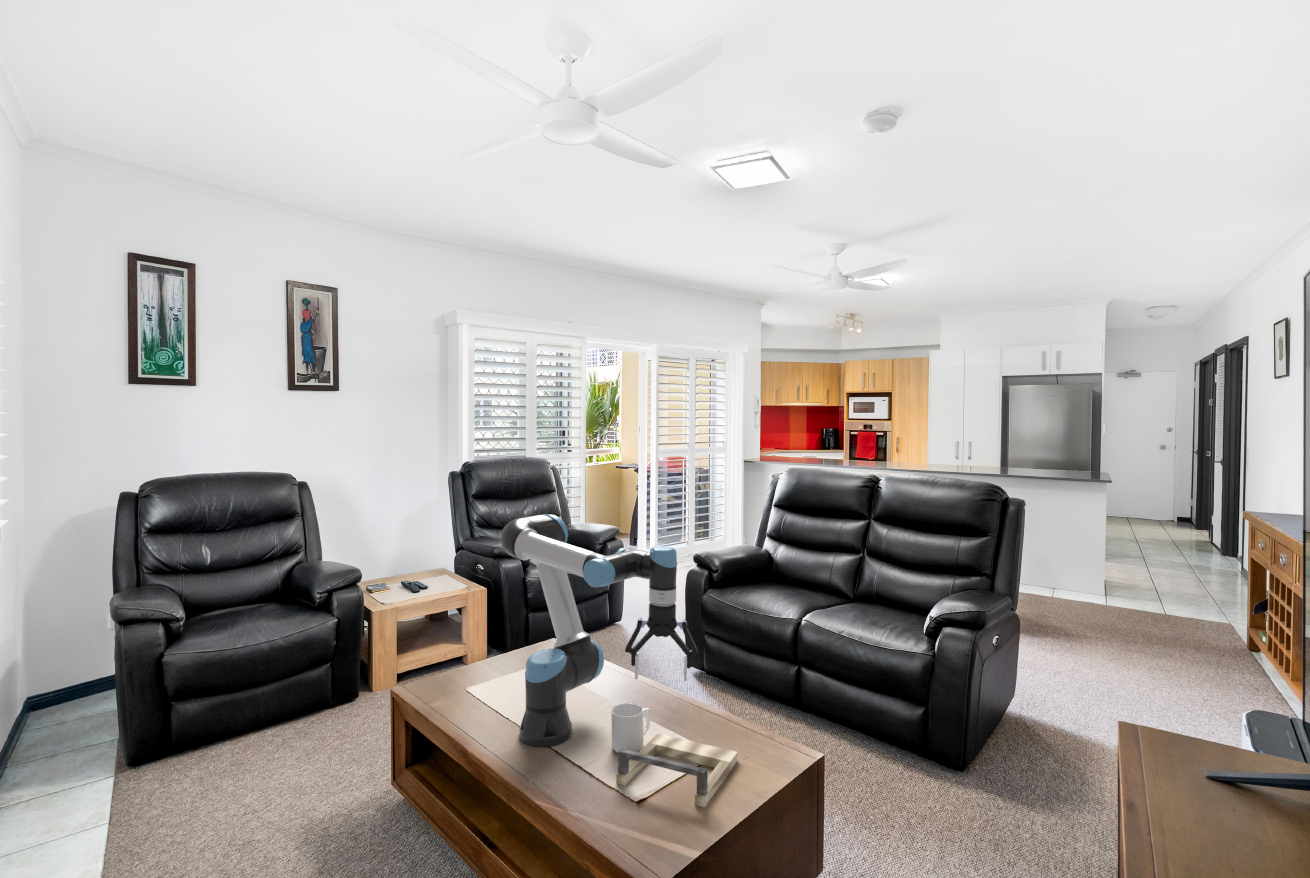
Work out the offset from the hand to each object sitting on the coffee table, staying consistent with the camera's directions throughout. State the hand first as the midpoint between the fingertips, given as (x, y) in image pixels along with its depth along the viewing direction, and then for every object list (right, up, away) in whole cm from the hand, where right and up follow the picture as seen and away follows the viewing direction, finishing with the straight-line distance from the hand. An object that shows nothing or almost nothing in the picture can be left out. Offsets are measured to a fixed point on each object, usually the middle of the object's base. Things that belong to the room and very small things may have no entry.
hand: (660, 678), depth 180 cm
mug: (-8, -20, +2) cm, 22 cm away
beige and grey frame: (+5, -20, -11) cm, 24 cm away
